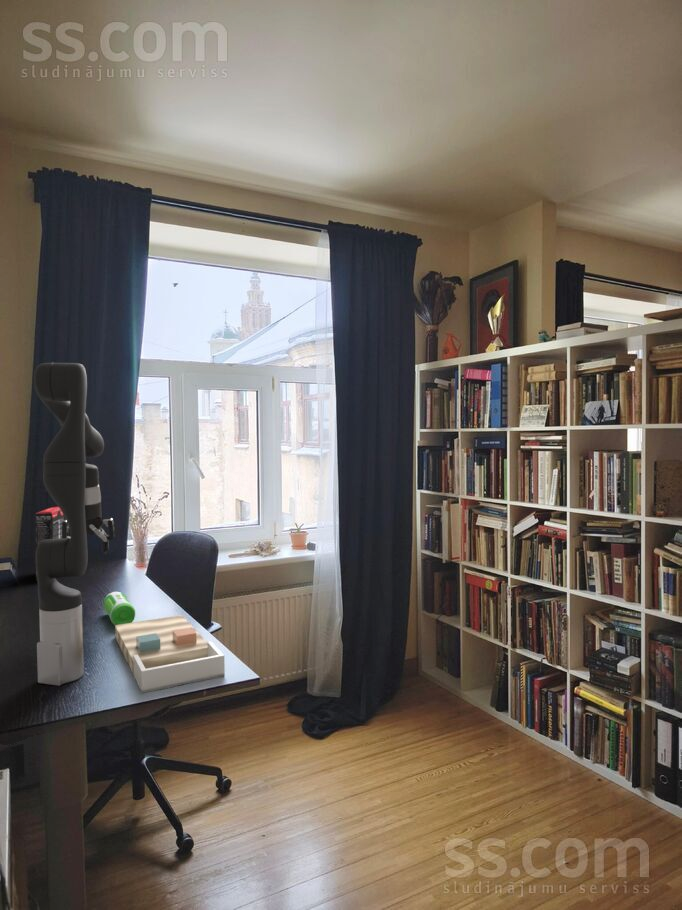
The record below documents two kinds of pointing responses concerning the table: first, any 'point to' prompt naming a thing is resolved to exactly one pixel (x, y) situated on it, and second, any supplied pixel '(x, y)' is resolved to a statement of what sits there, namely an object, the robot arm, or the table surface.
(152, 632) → the wooden tray board
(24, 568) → the table surface
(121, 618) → the speaker
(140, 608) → the table surface
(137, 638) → the teal tile
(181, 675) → the box
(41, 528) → the graphics card box
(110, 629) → the table surface
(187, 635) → the terracotta tile
